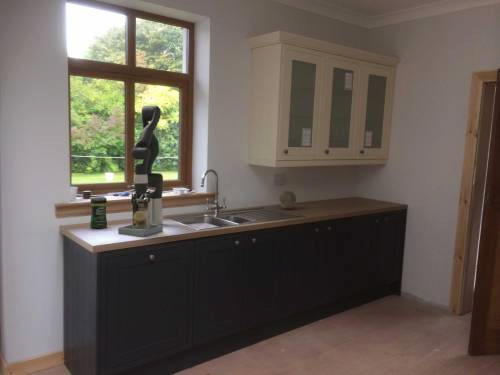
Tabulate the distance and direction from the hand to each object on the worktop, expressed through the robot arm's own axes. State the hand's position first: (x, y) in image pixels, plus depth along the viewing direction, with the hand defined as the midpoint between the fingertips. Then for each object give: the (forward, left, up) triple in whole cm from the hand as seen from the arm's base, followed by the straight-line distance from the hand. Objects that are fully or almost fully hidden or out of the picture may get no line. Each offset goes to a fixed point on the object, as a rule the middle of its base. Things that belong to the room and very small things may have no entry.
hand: (141, 209), depth 252 cm
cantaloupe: (-136, +44, -14) cm, 144 cm away
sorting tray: (0, 0, -13) cm, 13 cm away
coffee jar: (+1, -31, -14) cm, 34 cm away
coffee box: (0, 0, -11) cm, 11 cm away
